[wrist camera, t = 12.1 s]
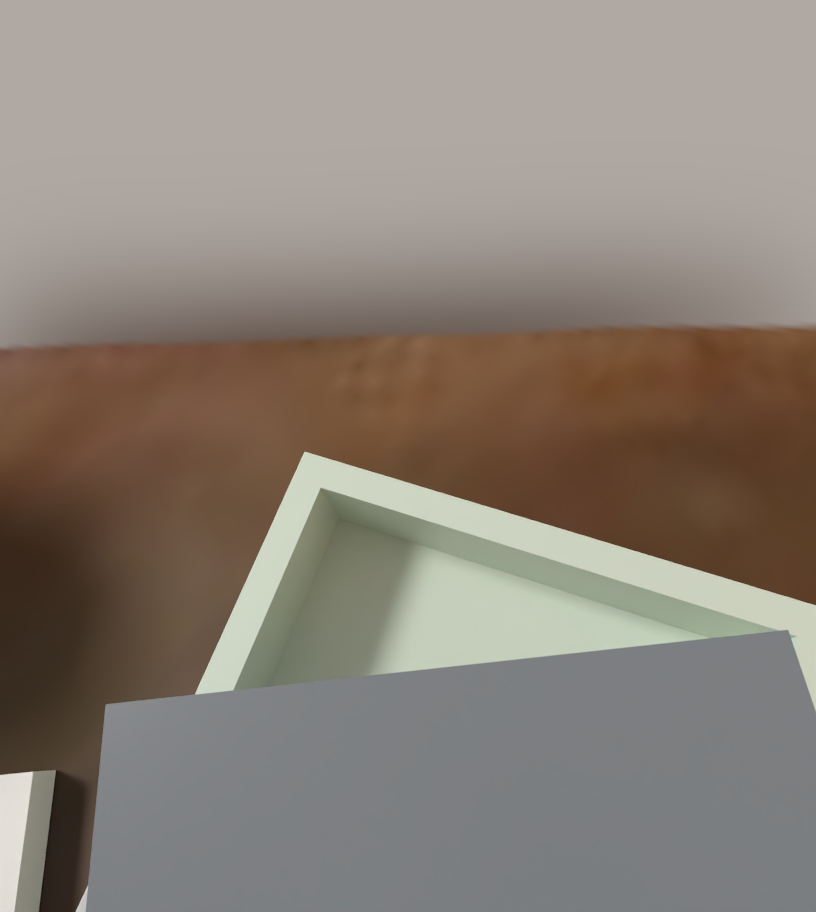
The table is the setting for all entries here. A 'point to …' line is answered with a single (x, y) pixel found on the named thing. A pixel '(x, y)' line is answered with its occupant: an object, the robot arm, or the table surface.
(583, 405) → the table surface
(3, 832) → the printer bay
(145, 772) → the gray rectangular block
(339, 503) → the sage tray
